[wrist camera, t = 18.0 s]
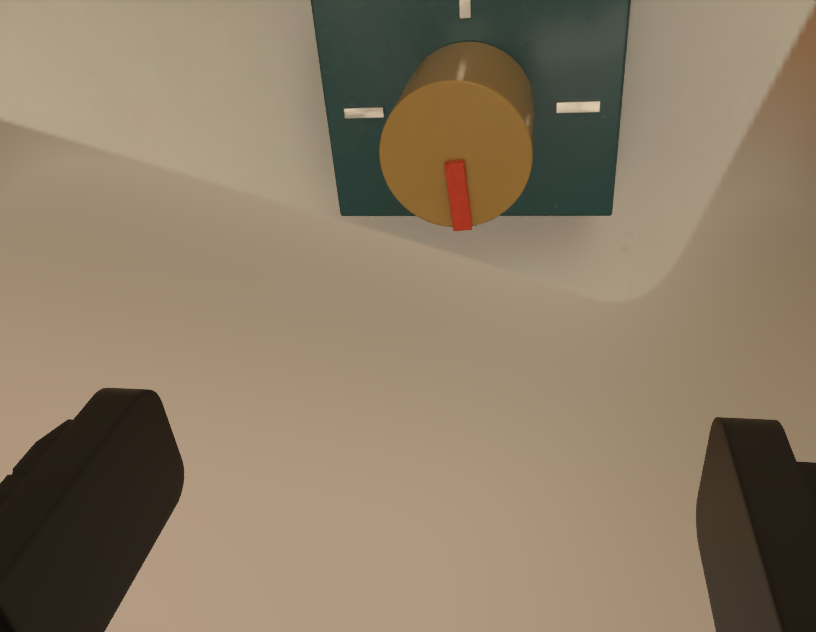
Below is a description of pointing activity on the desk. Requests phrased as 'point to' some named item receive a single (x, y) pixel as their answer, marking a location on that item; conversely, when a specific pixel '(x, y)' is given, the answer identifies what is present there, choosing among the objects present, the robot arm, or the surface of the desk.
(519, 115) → the tan cylinder
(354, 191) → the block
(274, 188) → the desk surface
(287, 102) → the desk surface
